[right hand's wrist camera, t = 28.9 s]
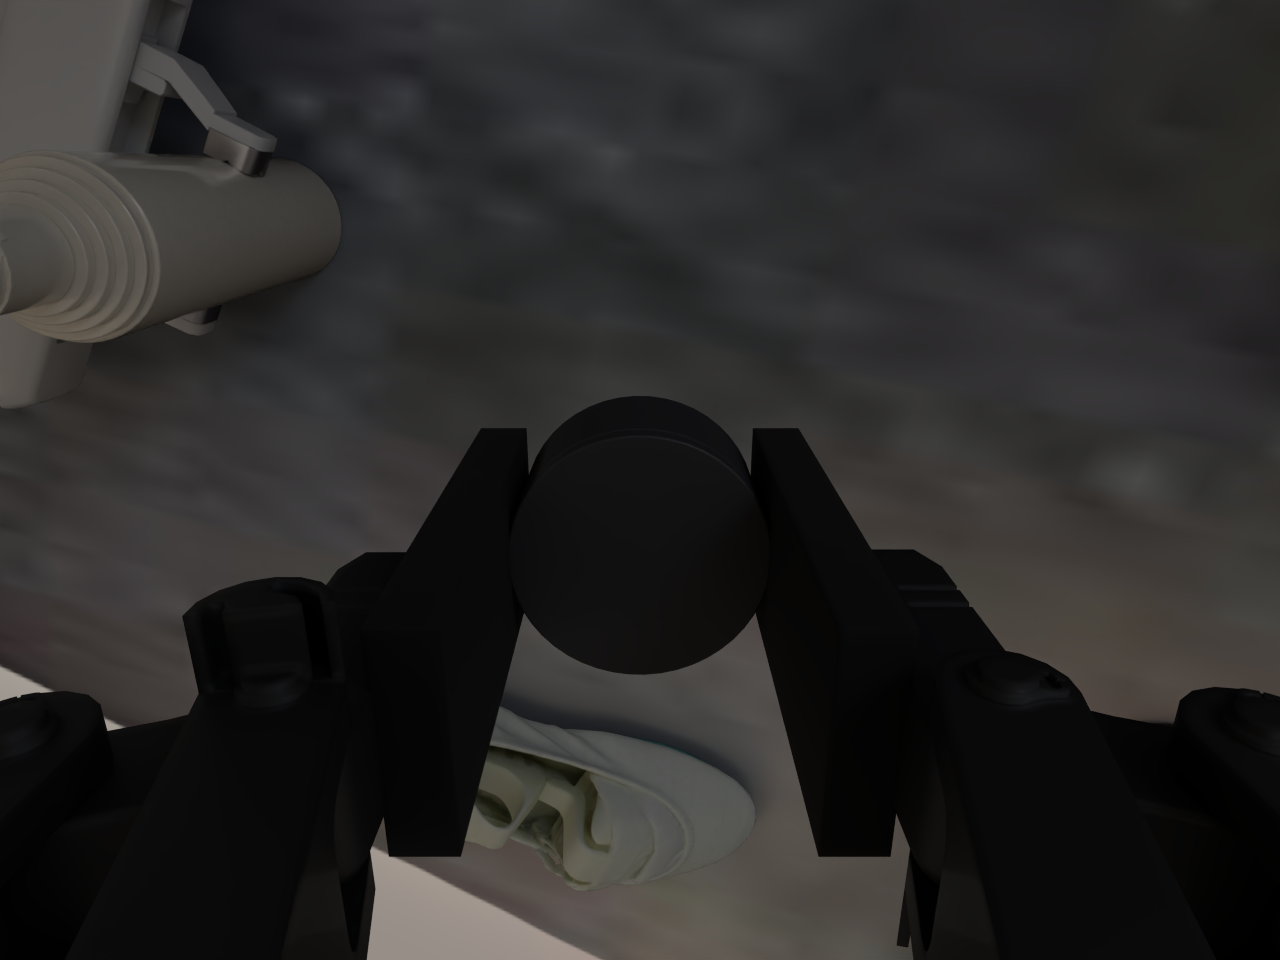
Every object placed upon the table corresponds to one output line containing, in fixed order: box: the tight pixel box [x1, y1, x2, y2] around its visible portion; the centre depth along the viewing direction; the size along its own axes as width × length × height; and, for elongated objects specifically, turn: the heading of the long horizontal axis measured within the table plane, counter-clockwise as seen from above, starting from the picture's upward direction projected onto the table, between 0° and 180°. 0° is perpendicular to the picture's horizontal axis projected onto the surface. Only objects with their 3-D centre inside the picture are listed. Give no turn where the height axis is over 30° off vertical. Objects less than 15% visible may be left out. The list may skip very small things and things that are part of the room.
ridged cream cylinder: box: [0, 150, 342, 343], centre depth 29 cm, size 5×5×20 cm
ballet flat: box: [465, 706, 756, 891], centre depth 45 cm, size 8×24×8 cm, turn 66°
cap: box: [509, 396, 770, 675], centre depth 13 cm, size 4×4×2 cm
